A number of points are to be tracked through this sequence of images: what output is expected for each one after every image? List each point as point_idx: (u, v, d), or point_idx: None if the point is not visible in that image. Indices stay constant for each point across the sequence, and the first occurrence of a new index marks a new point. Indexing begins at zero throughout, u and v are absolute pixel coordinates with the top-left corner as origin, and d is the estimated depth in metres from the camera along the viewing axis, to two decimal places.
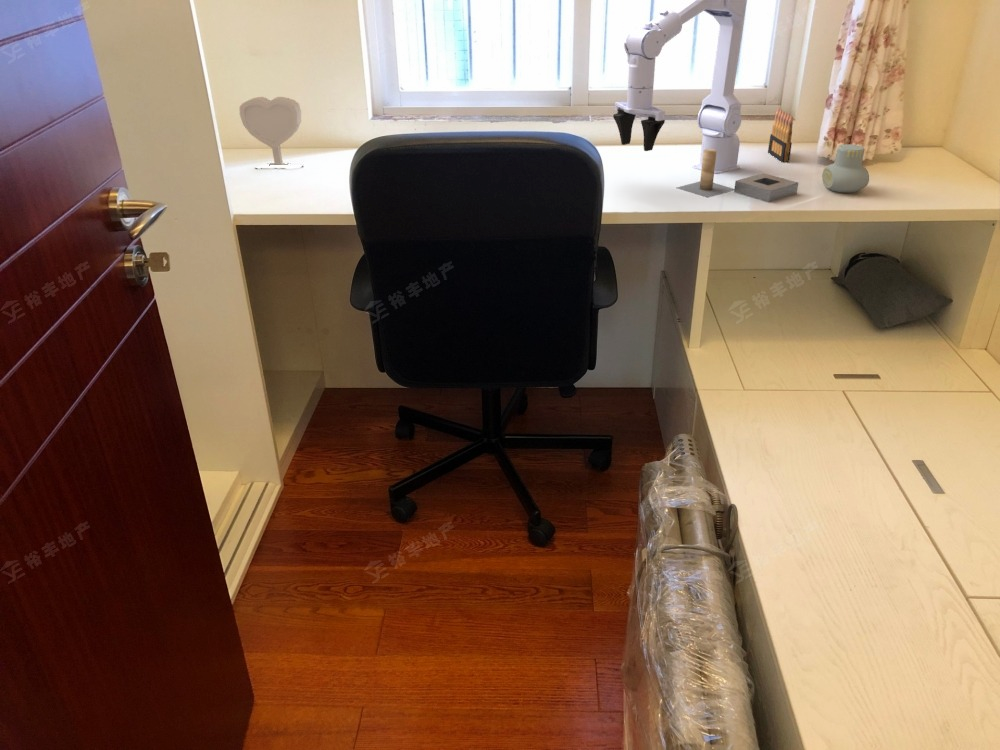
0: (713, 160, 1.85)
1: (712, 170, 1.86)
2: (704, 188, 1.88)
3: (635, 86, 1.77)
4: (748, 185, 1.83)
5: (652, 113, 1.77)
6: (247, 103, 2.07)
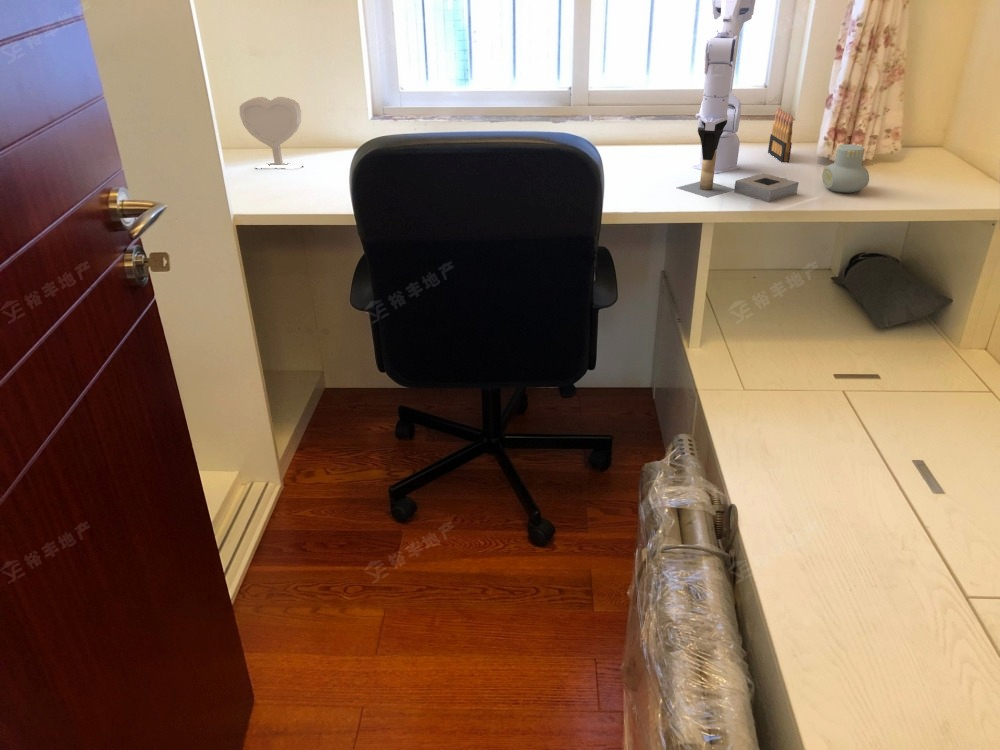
0: (713, 160, 1.85)
1: (712, 170, 1.86)
2: (704, 188, 1.88)
3: (720, 95, 1.76)
4: (748, 185, 1.83)
5: (705, 122, 1.77)
6: (247, 103, 2.07)
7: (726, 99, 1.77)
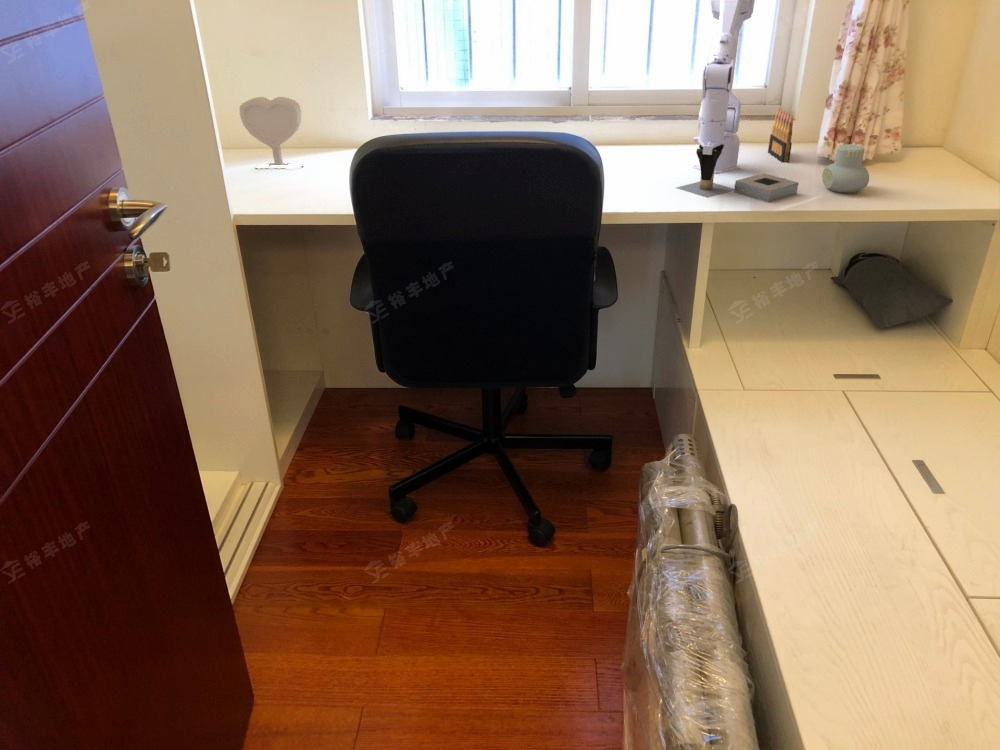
0: None
1: None
2: (704, 188, 1.88)
3: (717, 119, 1.79)
4: (748, 185, 1.83)
5: (702, 146, 1.80)
6: (247, 103, 2.07)
7: (723, 123, 1.80)
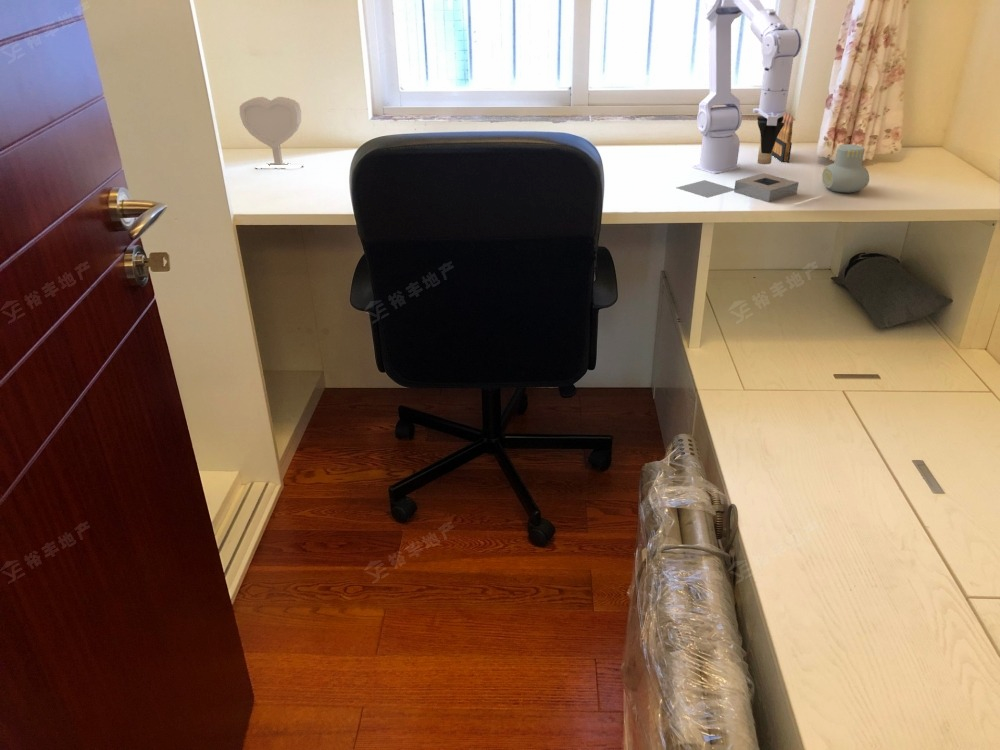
0: None
1: None
2: (763, 162, 1.81)
3: (786, 88, 1.72)
4: (748, 185, 1.83)
5: (766, 116, 1.73)
6: (247, 103, 2.07)
7: (786, 93, 1.73)
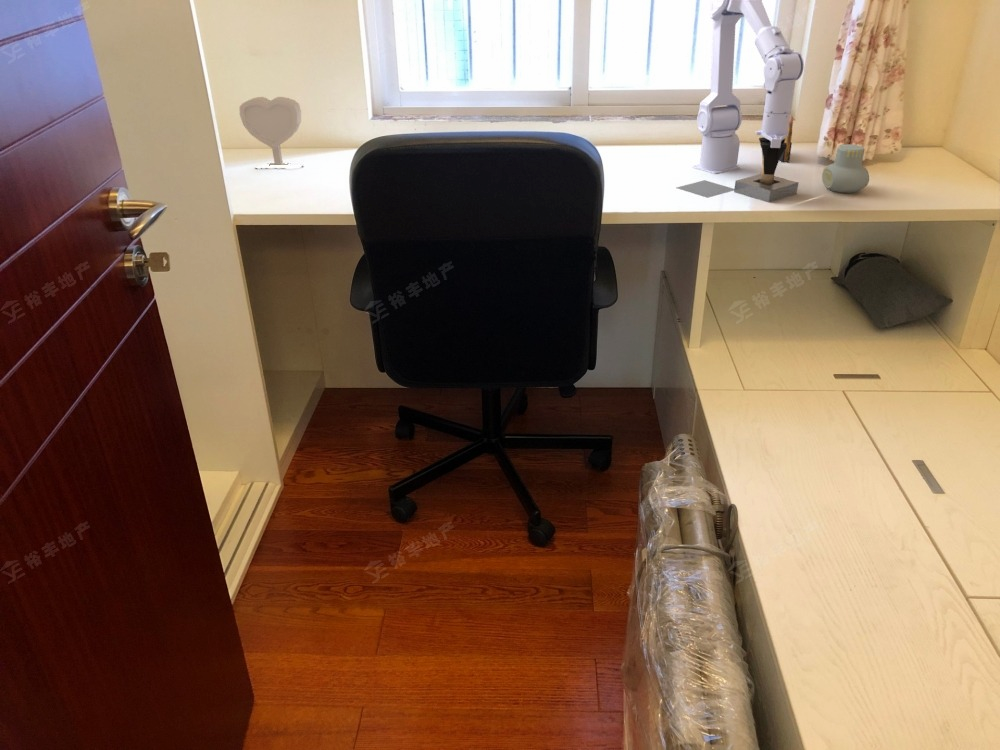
0: None
1: None
2: (766, 183, 1.83)
3: (788, 111, 1.74)
4: (748, 185, 1.83)
5: (769, 139, 1.75)
6: (247, 103, 2.07)
7: (788, 115, 1.75)
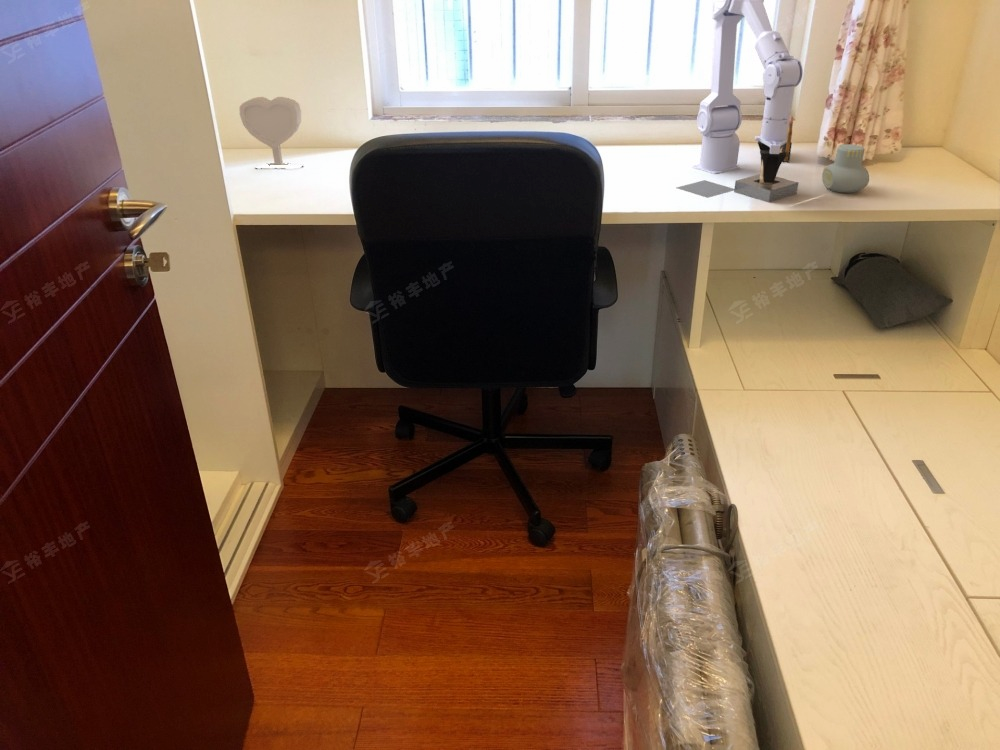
0: None
1: None
2: None
3: (787, 117, 1.75)
4: (748, 185, 1.83)
5: (769, 145, 1.75)
6: (247, 103, 2.07)
7: (787, 121, 1.76)
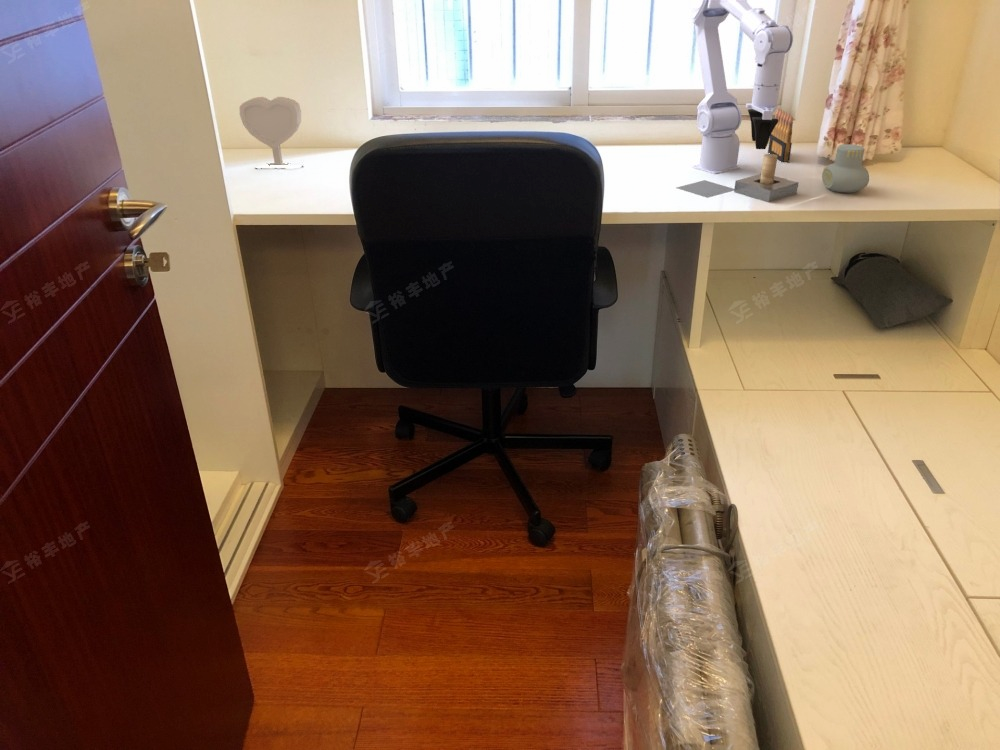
0: (774, 165, 1.81)
1: (773, 175, 1.83)
2: None
3: (778, 83, 1.78)
4: (748, 185, 1.83)
5: (761, 111, 1.78)
6: (247, 103, 2.07)
7: (778, 88, 1.79)
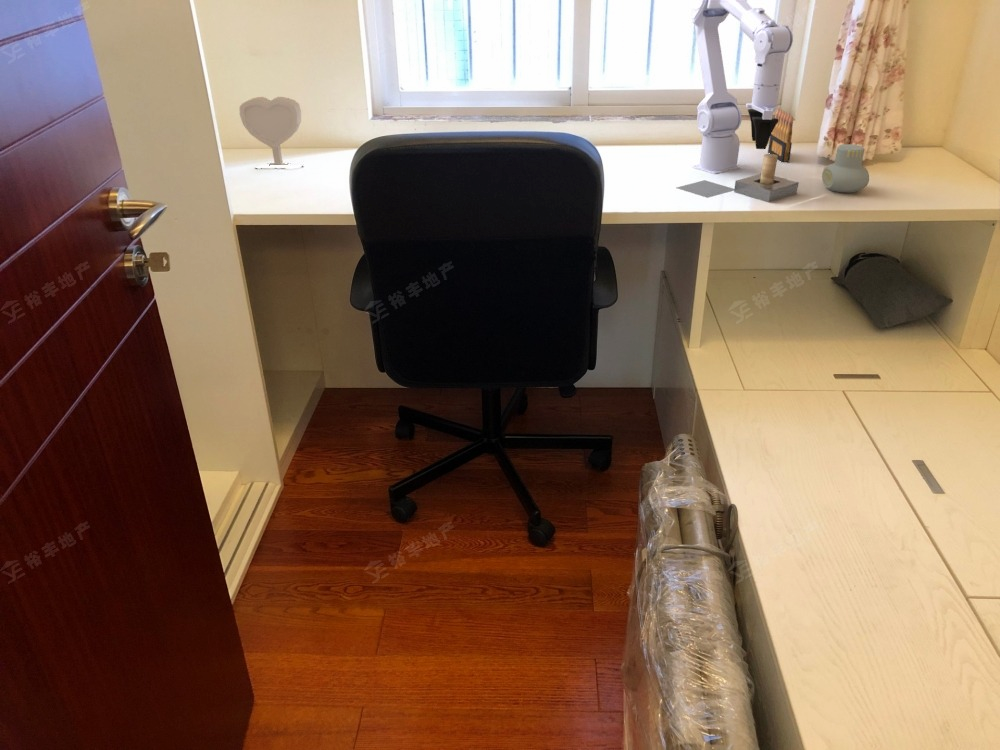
0: (774, 165, 1.81)
1: (773, 175, 1.83)
2: None
3: (778, 83, 1.78)
4: (748, 185, 1.83)
5: (761, 111, 1.78)
6: (247, 103, 2.07)
7: (778, 88, 1.79)
